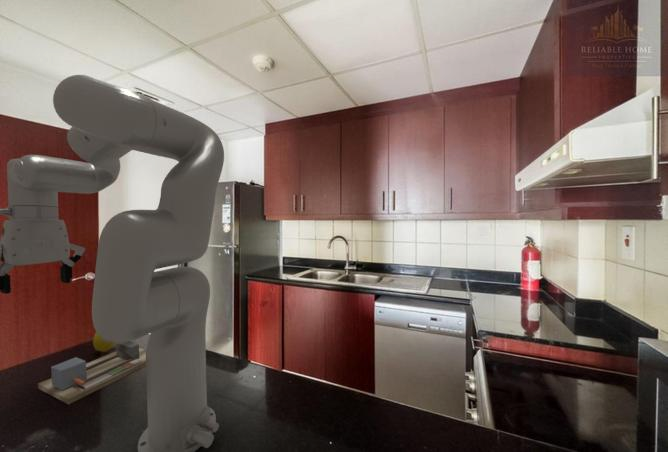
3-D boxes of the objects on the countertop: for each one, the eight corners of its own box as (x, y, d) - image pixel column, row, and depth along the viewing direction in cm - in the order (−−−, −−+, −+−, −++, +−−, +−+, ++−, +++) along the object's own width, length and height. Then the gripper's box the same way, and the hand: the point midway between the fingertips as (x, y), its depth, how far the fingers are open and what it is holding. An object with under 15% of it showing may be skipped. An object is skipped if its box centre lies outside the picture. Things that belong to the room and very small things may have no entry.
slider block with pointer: (95, 382, 62) (95, 364, 62) (70, 394, 58) (70, 375, 58) (76, 374, 65) (76, 357, 65) (52, 385, 61) (51, 366, 61)
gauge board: (160, 358, 75) (159, 340, 75) (68, 404, 57) (67, 381, 57) (130, 349, 81) (129, 332, 81) (38, 388, 62) (37, 367, 62)
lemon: (122, 348, 82) (121, 323, 81) (105, 357, 76) (104, 330, 76) (106, 347, 82) (105, 322, 82) (88, 356, 77) (87, 330, 76)
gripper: (-22, 213, 51) (-18, 300, 51) (90, 214, 66) (92, 280, 67) (-35, 213, 54) (-31, 295, 54) (75, 214, 69) (77, 277, 70)
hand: (37, 287), depth 61 cm, fingers open, 9 cm apart
